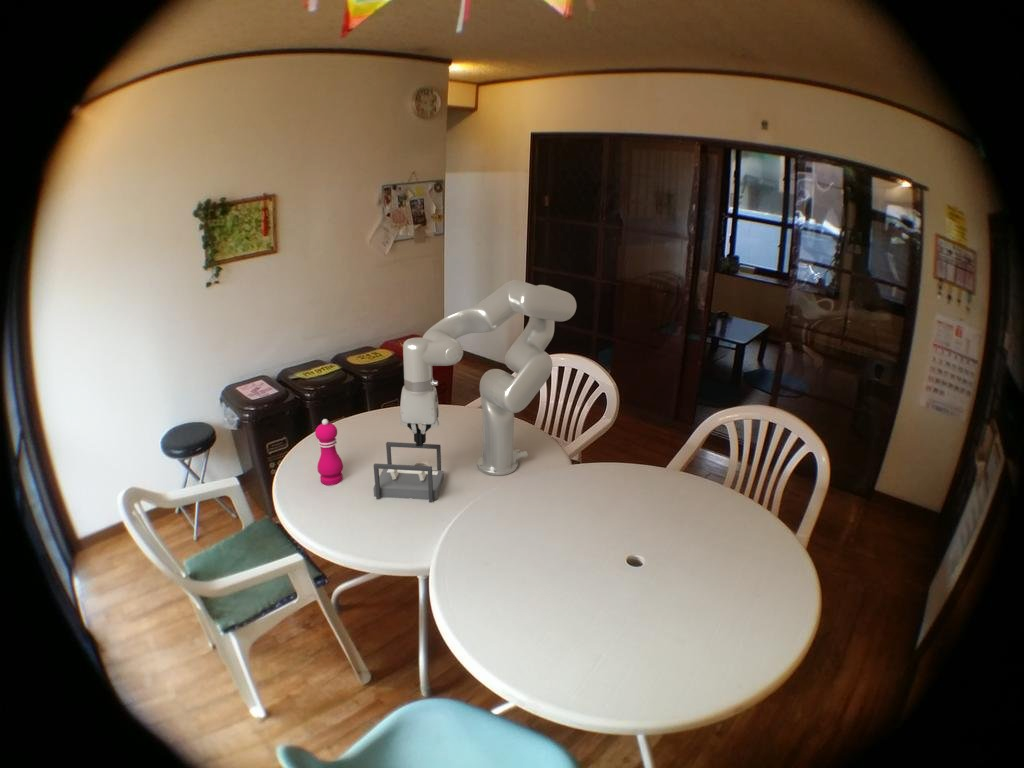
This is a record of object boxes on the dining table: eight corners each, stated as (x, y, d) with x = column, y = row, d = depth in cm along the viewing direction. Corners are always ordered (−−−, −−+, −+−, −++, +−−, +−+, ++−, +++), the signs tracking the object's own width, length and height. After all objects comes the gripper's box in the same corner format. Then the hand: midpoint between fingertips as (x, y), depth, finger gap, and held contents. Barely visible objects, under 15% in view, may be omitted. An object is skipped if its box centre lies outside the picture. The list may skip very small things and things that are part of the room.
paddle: (398, 473, 165) (396, 466, 164) (396, 478, 163) (393, 471, 162) (395, 474, 166) (392, 467, 165) (392, 479, 163) (390, 472, 162)
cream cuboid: (425, 475, 165) (423, 468, 164) (423, 480, 162) (421, 473, 162) (422, 475, 165) (420, 468, 164) (420, 480, 163) (418, 473, 162)
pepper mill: (348, 474, 171) (341, 414, 164) (338, 487, 165) (332, 425, 157) (325, 472, 172) (317, 413, 164) (314, 485, 165) (306, 424, 158)
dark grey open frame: (441, 476, 171) (440, 444, 167) (432, 502, 159) (431, 468, 154) (389, 474, 172) (386, 441, 168) (376, 499, 159) (373, 465, 155)
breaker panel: (443, 479, 170) (443, 470, 169) (437, 500, 160) (436, 490, 159) (384, 476, 171) (384, 467, 170) (374, 496, 161) (373, 487, 160)
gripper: (448, 380, 156) (448, 440, 162) (394, 377, 156) (397, 436, 163) (443, 390, 149) (444, 452, 155) (387, 387, 149) (390, 449, 156)
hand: (420, 444), depth 159 cm, fingers closed
